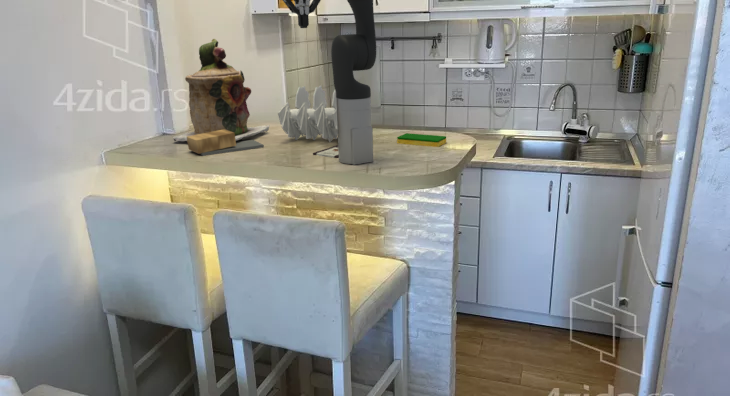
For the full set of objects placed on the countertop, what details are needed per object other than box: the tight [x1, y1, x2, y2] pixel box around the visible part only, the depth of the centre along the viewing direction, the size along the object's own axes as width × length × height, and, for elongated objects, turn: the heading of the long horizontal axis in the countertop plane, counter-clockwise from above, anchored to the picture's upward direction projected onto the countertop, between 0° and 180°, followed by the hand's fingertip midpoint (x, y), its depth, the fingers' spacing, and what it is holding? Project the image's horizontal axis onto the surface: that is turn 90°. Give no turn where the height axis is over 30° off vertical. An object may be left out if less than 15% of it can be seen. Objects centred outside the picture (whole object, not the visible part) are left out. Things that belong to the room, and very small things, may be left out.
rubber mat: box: [198, 139, 265, 157], centre depth 170 cm, size 10×19×1 cm, turn 120°
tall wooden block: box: [186, 129, 237, 155], centre depth 166 cm, size 4×8×12 cm
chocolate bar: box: [312, 144, 339, 159], centre depth 164 cm, size 9×1×18 cm
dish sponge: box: [396, 132, 447, 148], centre depth 170 cm, size 7×14×2 cm, turn 61°
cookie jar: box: [172, 38, 270, 142], centre depth 182 cm, size 25×25×32 cm
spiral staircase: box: [277, 85, 338, 143], centre depth 176 cm, size 18×18×25 cm
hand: (303, 28), depth 165 cm, fingers closed
